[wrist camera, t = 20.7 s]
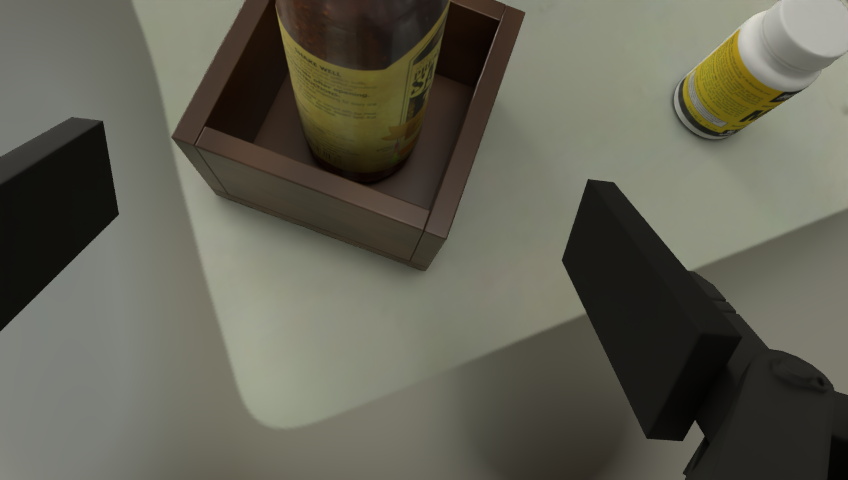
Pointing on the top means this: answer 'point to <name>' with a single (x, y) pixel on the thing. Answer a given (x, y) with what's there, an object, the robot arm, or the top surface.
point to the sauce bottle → (362, 78)
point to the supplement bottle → (762, 65)
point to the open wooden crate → (302, 172)
